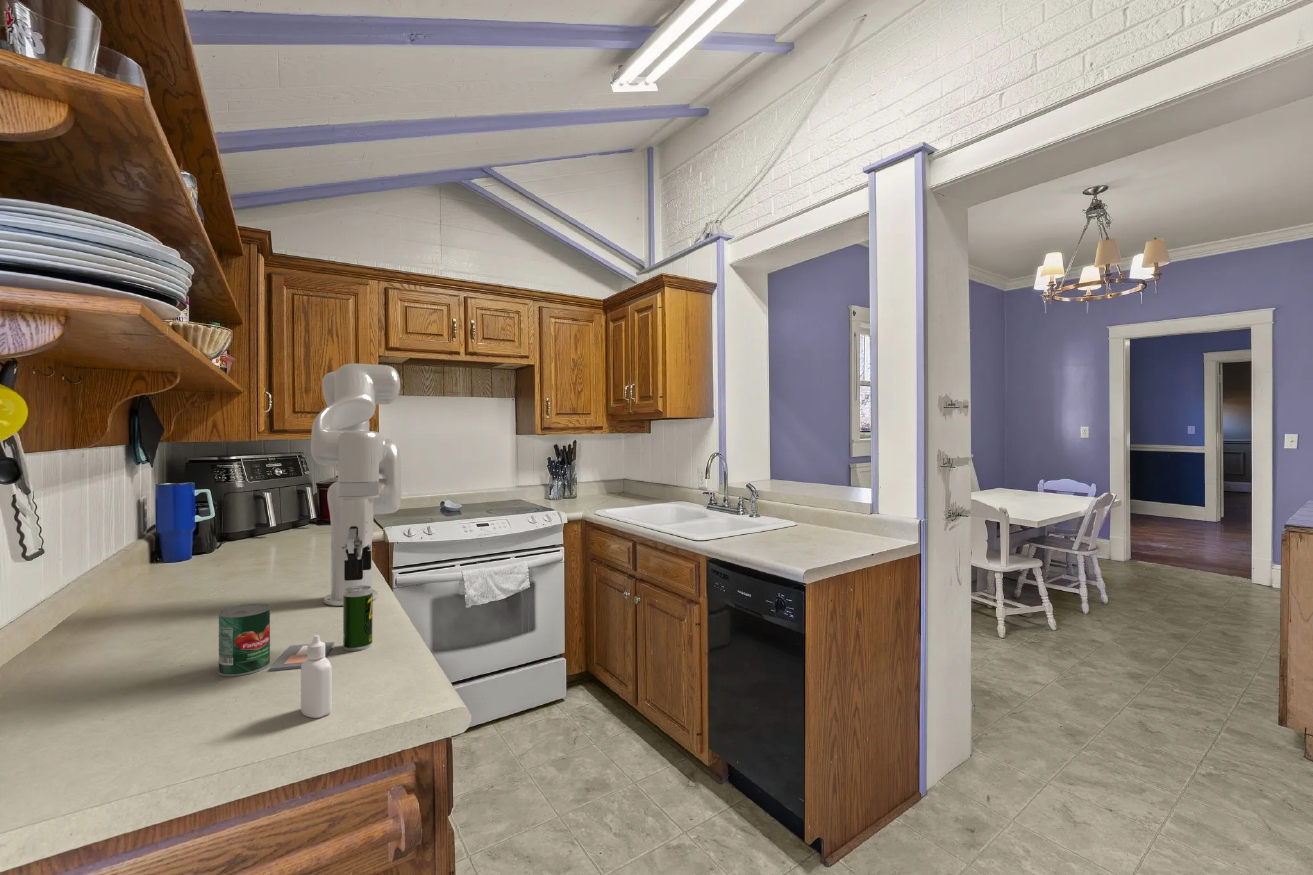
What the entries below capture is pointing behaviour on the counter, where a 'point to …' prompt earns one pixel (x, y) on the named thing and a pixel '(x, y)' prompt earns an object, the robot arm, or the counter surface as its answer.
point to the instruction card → (295, 657)
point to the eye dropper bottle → (316, 681)
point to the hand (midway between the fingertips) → (358, 574)
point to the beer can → (357, 618)
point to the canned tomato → (244, 639)
